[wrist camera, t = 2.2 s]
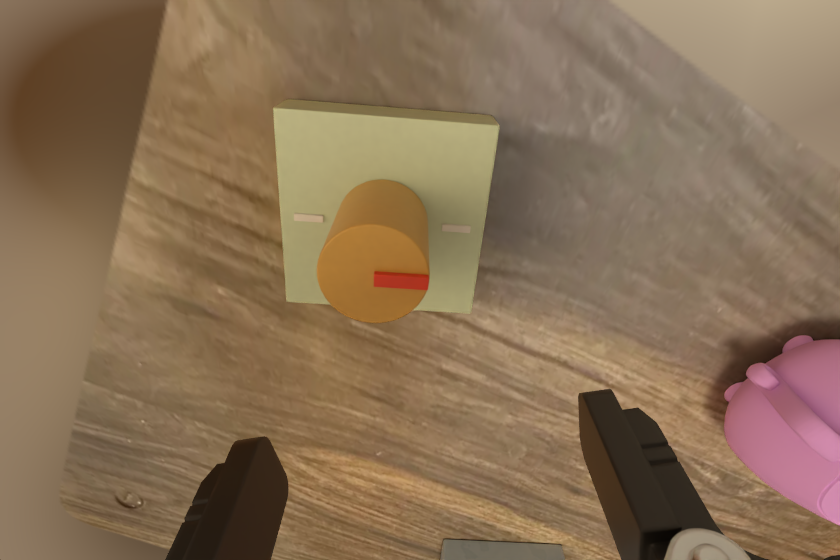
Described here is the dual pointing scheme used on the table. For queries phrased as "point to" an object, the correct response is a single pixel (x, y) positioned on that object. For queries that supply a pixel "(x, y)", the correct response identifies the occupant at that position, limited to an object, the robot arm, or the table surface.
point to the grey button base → (499, 550)
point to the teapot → (792, 423)
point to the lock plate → (385, 160)
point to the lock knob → (376, 253)
